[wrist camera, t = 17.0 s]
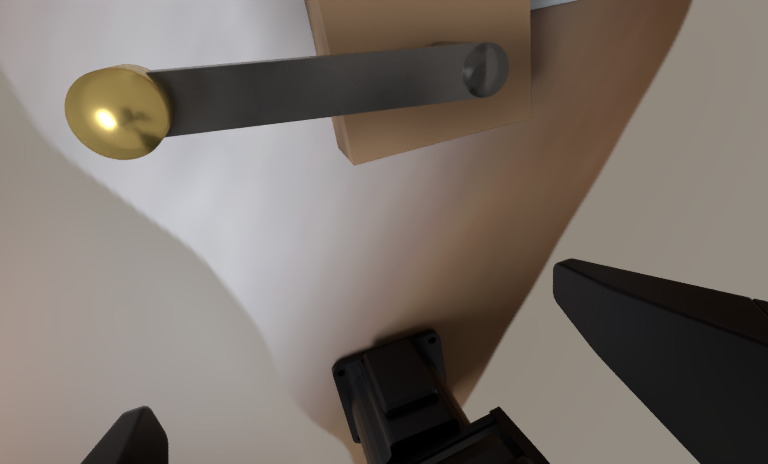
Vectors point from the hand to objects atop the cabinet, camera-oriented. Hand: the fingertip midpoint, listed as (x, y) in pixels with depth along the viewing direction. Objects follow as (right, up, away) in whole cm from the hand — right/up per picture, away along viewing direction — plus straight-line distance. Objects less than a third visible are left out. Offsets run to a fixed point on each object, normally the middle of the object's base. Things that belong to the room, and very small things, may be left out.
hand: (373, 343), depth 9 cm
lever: (-3, +8, +6) cm, 10 cm away
